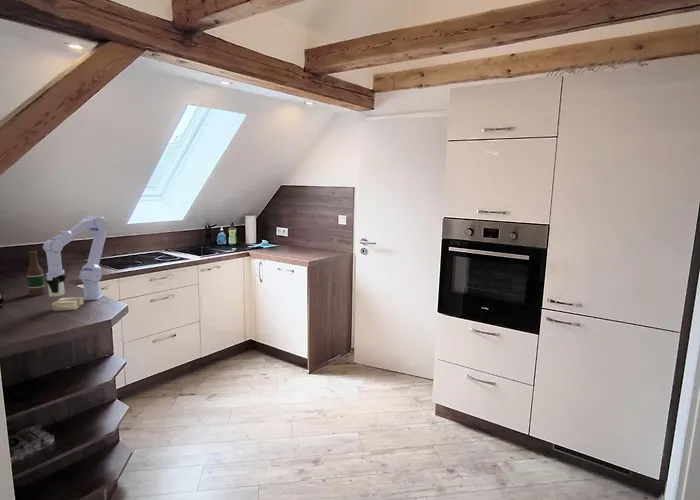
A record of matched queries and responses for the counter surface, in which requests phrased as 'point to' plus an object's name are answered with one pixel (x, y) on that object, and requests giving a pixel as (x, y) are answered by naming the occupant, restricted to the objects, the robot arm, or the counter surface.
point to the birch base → (67, 303)
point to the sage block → (60, 290)
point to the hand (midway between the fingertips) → (57, 291)
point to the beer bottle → (35, 276)
